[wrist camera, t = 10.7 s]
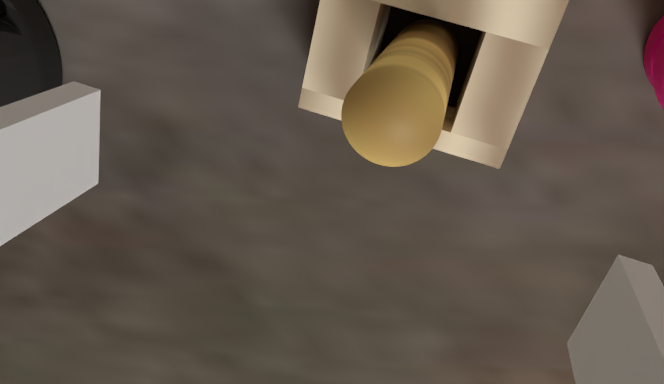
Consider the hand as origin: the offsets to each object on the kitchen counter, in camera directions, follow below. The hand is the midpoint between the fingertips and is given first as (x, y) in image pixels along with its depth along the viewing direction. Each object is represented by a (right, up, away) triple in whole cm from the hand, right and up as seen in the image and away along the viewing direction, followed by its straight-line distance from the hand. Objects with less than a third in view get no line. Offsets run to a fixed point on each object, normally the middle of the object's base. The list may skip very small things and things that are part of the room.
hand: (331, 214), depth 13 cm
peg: (+6, +9, +20) cm, 23 cm away
